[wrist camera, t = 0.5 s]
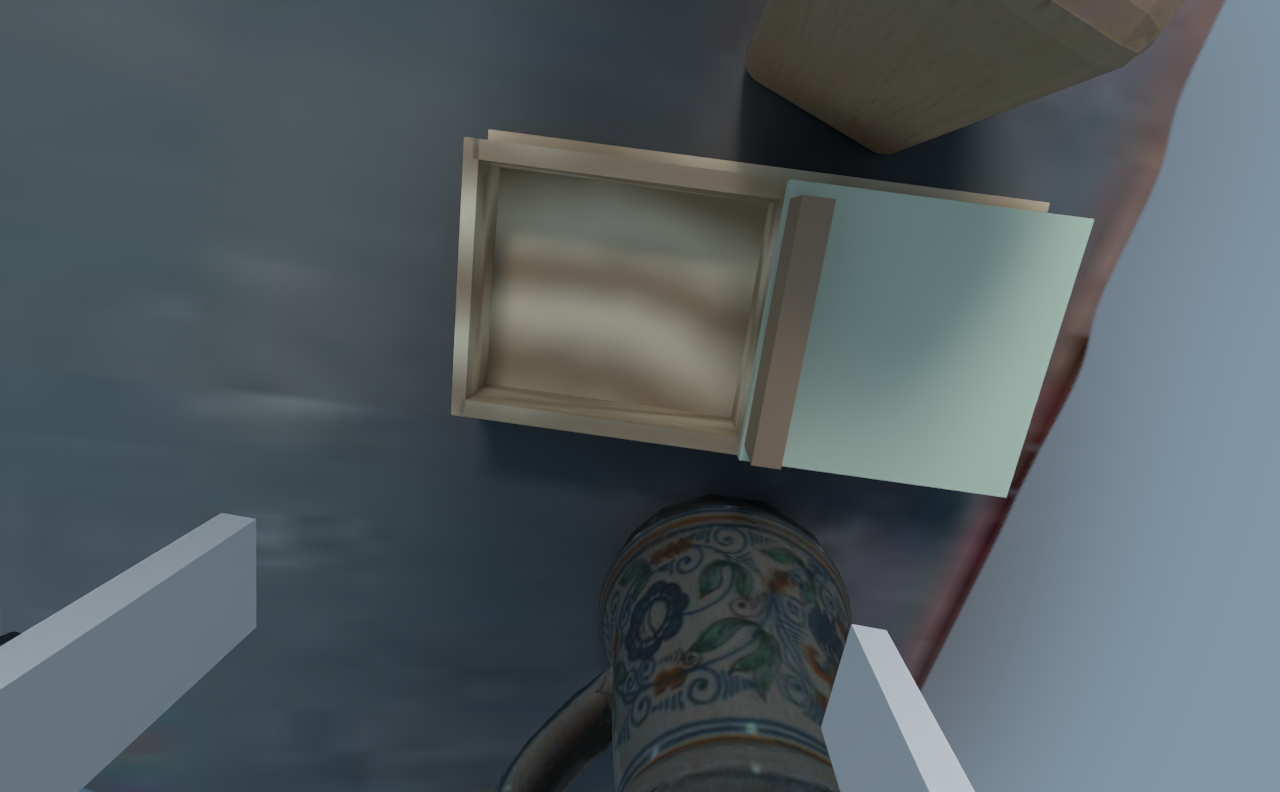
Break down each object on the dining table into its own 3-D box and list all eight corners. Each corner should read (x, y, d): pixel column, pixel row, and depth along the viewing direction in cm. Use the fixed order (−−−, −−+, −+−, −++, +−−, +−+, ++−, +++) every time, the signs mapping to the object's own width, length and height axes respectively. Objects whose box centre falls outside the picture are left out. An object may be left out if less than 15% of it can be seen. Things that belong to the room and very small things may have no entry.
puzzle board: (493, 132, 35) (464, 115, 30) (1039, 203, 35) (1098, 198, 30) (477, 407, 40) (449, 431, 35) (960, 475, 39) (1001, 508, 34)
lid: (787, 180, 30) (803, 172, 26) (1083, 219, 30) (1140, 217, 26) (737, 454, 34) (745, 481, 30) (998, 491, 34) (1038, 522, 30)
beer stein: (885, 612, 42) (1172, 1119, 18) (672, 750, 46) (671, 1316, 22) (737, 440, 39) (840, 762, 15) (525, 602, 43) (340, 1062, 19)
